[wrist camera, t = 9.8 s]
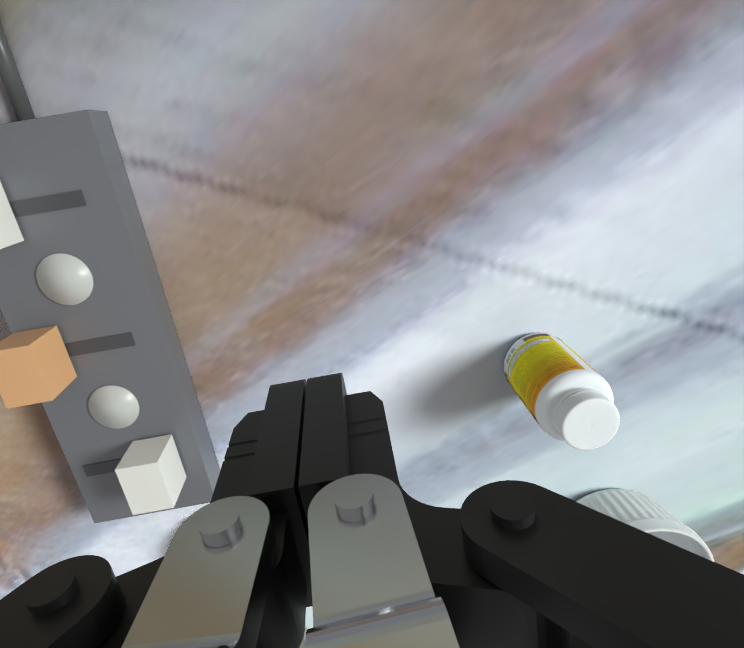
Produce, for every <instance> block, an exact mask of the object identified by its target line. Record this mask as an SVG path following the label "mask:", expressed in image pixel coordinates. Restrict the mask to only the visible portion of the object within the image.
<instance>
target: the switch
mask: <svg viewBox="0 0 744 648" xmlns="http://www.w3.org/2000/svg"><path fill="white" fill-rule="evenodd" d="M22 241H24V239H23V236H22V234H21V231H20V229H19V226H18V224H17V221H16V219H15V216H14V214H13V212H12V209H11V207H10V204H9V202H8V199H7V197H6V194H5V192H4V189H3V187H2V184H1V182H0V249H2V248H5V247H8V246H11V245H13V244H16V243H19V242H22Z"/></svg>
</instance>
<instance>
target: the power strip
mask: <svg viewBox="0 0 744 648" xmlns="http://www.w3.org/2000/svg"><path fill="white" fill-rule="evenodd" d="M0 74H1V77H2V79H3V82H4V84H5V87H6V90H7V92H8V95H9V98H10V100H11V103H12V106H13V108H14V111H15V114H16V116H17V119H18V121H17V122H11V123H5V124H0V182H1V184H2V187H3V189H4V192H5V194H6V197H7V199H8V202H9V204H10V207H11V209H12V212H13V214H14V216H15V219H16V221H17V224H18V226H19V229H20V231H21V234H22V236H23V239H24V241H22V242H19V243H16V244H13V245H11V246H8V247H5V248H2V249H0V310H1V312H2V314H3V317H4V319H5V321H6V323H7V326H8V328H9V330H10V332H11V334H13V333H16V332H22V331H27V330H33V329H39V328H45V327H50V326H56V325H57V328H58V330H59V333H60V335H61V338H62V340H63V342H64V345H65V347H66V350H67V352H68V355H69V357H70V360H71V362H72V365H73V367H74V370H75V372H76V375H77V377H76V378H75V379H74V380H73V381H72V382H71V383H70V384H69V385H68V386H67V387H66V388H65V389H64V390H63V391H62V392H61V393H60V394H59V395H58V396H57V397H56V398H55V399H54V400H53V401H48V402H42V405H43V407H44V410H45V412H46V414H47V416H48V419H49V421H50V423H51V426H52V428H53V430H54V432H55V435H56V437H57V439H58V441H59V444H60V446H61V448H62V451H63V453H64V455H65V457H66V460H67V462H68V464H69V466H70V469H71V471H72V473H73V475H74V478H75V480H76V482H77V485H78V487H79V489H80V491H81V494H82V496H83V498H84V500H85V503H86V505H87V507H88V510H89V512H90V514H91V516H92V519H93V521H94V523H99V522H104V521H110V520H115V519H121V518H126V517H132V516H137V515H143V514H148V513H154V512H159V511H165V510H171V509H176V508H182V507H187V506H193V505H198V504H204V503H209V502H211V499H212V495H213V492H214V489H215V486H216V483H217V480H218V477H219V473H220V467H219V464H218V461H217V458H216V455H215V452H214V448H213V445H212V442H211V439H210V436H209V433H208V429H207V426H206V423H205V420H204V417H203V414H202V410H201V407H200V404H199V401H198V398H197V395H196V391H195V388H194V385H193V382H192V379H191V376H190V372H189V369H188V366H187V363H186V360H185V357H184V353H183V350H182V347H181V344H180V341H179V338H178V334H177V331H176V328H175V325H174V322H173V319H172V315H171V312H170V309H169V306H168V303H167V299H166V296H165V293H164V290H163V287H162V284H161V280H160V277H159V274H158V271H157V268H156V265H155V261H154V258H153V255H152V252H151V249H150V246H149V242H148V239H147V236H146V233H145V230H144V227H143V223H142V220H141V217H140V214H139V211H138V208H137V204H136V201H135V198H134V195H133V192H132V189H131V185H130V182H129V179H128V176H127V173H126V170H125V166H124V163H123V160H122V157H121V154H120V151H119V147H118V144H117V141H116V138H115V135H114V132H113V128H112V125H111V122H110V119H109V116H108V113H107V111H96V110H83V111H77V112H71V113H65V114H59V115H53V116H47V117H41V118H35V116H34V113H33V111H32V108H31V105H30V102H29V100H28V97H27V94H26V91H25V89H24V86H23V83H22V80H21V78H20V75H19V72H18V69H17V67H16V64H15V61H14V58H13V56H12V53H11V50H10V47H9V45H8V42H7V39H6V36H5V34H4V31H3V28H2V25H1V23H0ZM170 434H172V436H173V439H174V442H175V445H176V448H177V451H178V454H179V457H180V459H181V462H182V465H183V468H184V471H185V474H186V479H185V482H184V484H183V487H182V489H181V492H180V494H179V497H178V499H177V501H176V504H175V506H174V508H170V509H164V510H159V511H153V512H148V513H142V514H137V515H133V514H132V512H131V509H130V507H129V504H128V502H127V499H126V497H125V494H124V492H123V489H122V487H121V484H120V482H119V479H118V477H117V474H116V472H115V469H116V467H117V465H118V464H119V462H120V461H121V459H122V458H123V456H124V454H125V453H126V451H127V450H128V448H129V446H130V445H131V443H132V442H133V441H137V440H142V439H148V438H153V437H159V436H165V435H170Z"/></svg>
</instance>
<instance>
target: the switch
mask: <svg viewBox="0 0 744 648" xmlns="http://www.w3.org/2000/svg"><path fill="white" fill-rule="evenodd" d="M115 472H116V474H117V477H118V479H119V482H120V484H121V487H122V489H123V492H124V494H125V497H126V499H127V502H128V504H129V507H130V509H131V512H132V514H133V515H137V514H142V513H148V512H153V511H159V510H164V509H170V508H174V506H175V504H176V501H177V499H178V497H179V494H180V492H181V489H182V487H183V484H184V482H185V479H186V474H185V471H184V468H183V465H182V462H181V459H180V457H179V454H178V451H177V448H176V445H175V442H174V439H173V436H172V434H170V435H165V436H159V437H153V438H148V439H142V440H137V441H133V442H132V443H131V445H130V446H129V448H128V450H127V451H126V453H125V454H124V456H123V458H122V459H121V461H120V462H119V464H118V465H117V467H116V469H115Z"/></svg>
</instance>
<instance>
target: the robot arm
mask: <svg viewBox="0 0 744 648" xmlns="http://www.w3.org/2000/svg"><path fill="white" fill-rule="evenodd" d="M310 606H313V628H310V629H308V630H307V632H306V640H305V636H304V631H305V614H306V607H310ZM0 648H744V575H743V574H740V573H738V572H736V571H734V570H731V569H729V568H727V567H724V566H722V565H720V564H718V563H715V562H713V561H711V560H708V559H706V558H704V557H702V556H699V555H697V554H695V553H692V552H690V551H688V550H685V549H683V548H681V547H679V546H676V545H674V544H672V543H669V542H667V541H665V540H663V539H660V538H658V537H656V536H653V535H651V534H649V533H647V532H644V531H642V530H640V529H637V528H635V527H633V526H630V525H628V524H626V523H624V522H621V521H619V520H617V519H614V518H612V517H610V516H608V515H605V514H603V513H601V512H598V511H596V510H594V509H592V508H589V507H587V506H585V505H582V504H580V503H578V502H575V501H573V500H571V499H569V498H566V497H564V496H562V495H559V494H557V493H555V492H553V491H550V490H548V489H546V488H543V487H541V486H538V485H536V484H533V483H528V482H524V481H510V480H507V481H498V482H493V483H490V484H487V485H484V486H482V487H480V488H478V489H476V490H475V491H473V492H472V493H471V494H470V495H469V496H468V497H467V498H466V499H465V501H464V503H463V504H462V507H461V509H455V508H442V507H434V506H430V505H426V504H424V503H421V502H419V501H417V500H415V499H413V498H412V497H410V496H409V495H408V494H407V493H406V492H405V491H404V490H403V489H402V487H401V485H400V483H399V480H398V476H397V471H396V466H395V461H394V456H393V451H392V446H391V441H390V436H389V431H388V426H387V421H386V416H385V411H384V406H383V402H382V401H381V400H380V399H379V398H378V397H377V396H375V395H374V394H373V393H372V392H371V391H368V392H362V393H357V394H351V395H347V393H346V388H345V383H344V378H343V375H342V373H337V374H332V375H326V376H320V377H315V378H309V379H307V381H306V380H305V379H304V380H298V381H293V382H287V383H281V384H276V385H271V386H270V388H269V392H268V397H267V401H266V405H265V410H262V411H256V412H250V413H248V414H247V415H246V416H245V417H244V418H243V419H242V420H241V421H240V422H239V423H238V424H237V425H236V427H235V428H234V429H233V433H232V436H231V439H230V442H229V448H227V451H226V455H225V461H223V464H222V467H221V470H220V473H219V477H218V480H217V483H216V486H215V489H214V492H213V495H212V499H211V502H210V504H208V505H206V506H204V507H202V508H201V509H199V510H197V511H196V512H195V513H193V514H192V515H191V516H189V517H188V518H187V519H186V520H185V521H184V522H183V523H182V525H181V526H180V527H179V528H178V530H177V532H176V534H175V535H174V537H173V540H172V542H171V544H170V546H169V548H168V550H167V552H166V554H165V556H164V557H162V558H159V559H157V560H155V561H153V562H150V563H148V564H146V565H143V566H141V567H139V568H136V569H134V570H131V571H129V572H127V573H124V574H122V575H119V576H117V577H115V575H114V572H113V570H112V568H111V566H110V564H109V562H108V561H107V560H105V559H104V558H102V557H99V556H94V555H84V556H77V557H73V558H69V559H66V560H64V561H61V562H58V563H56V564H54V565H52V566H50V567H48V568H46V569H44V570H42V571H41V572H39V573H38V574H36V575H35V576H33V577H31V578H30V579H29V580H27V581H26V582H24V583H23V584H22V585H20V586H19V587H18V588H16V589H15V590H13V591H12V592H11V593H9V594H8V595H6V596H5V597H4V598H2V599H1V600H0Z"/></svg>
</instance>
